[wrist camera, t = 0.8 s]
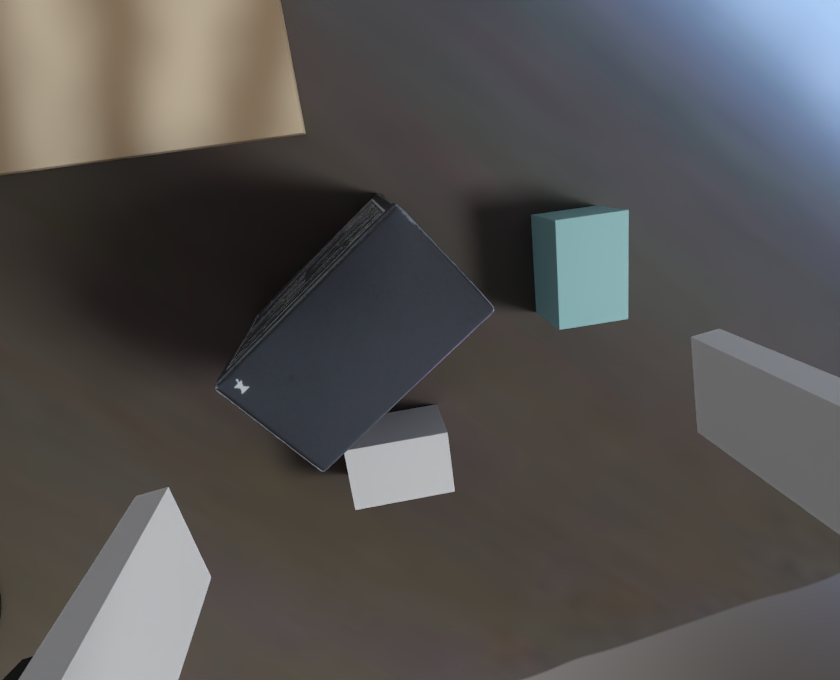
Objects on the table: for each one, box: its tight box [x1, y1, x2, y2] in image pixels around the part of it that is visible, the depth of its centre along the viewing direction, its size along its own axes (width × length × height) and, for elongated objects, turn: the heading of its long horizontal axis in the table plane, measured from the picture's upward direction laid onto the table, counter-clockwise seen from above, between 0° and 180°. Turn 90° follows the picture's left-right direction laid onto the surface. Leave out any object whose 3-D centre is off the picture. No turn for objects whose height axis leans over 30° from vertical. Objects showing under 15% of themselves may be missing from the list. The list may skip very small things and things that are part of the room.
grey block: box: [344, 404, 455, 510], centre depth 32 cm, size 6×4×4 cm, turn 97°
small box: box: [215, 193, 494, 472], centre depth 26 cm, size 11×6×10 cm, turn 134°
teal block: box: [531, 206, 629, 330], centre depth 30 cm, size 4×6×4 cm, turn 7°
